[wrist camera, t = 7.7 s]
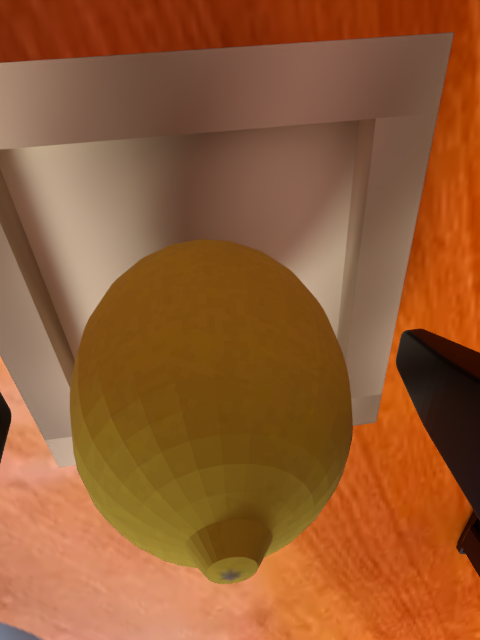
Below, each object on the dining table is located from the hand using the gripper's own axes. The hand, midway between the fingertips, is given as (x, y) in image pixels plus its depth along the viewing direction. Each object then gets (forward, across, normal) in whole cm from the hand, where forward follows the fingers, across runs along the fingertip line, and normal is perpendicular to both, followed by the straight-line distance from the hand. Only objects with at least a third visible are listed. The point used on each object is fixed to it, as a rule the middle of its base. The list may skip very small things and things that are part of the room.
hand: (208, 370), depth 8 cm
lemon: (+4, 0, 0) cm, 4 cm away
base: (+6, 0, 0) cm, 6 cm away
